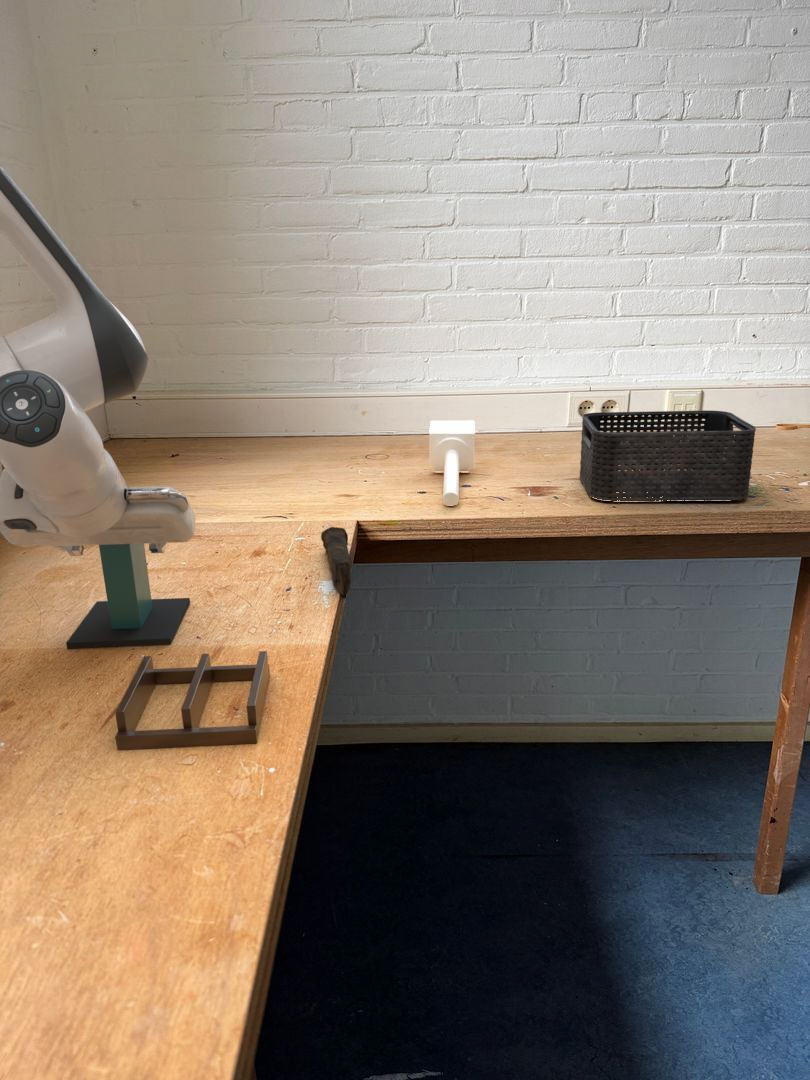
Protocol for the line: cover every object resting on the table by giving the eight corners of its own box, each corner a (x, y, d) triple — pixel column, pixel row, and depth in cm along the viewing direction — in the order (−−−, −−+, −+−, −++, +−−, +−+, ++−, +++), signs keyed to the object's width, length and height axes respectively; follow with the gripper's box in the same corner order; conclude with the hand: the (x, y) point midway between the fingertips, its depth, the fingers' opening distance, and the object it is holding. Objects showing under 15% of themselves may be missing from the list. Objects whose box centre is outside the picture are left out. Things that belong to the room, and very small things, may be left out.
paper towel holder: (474, 420, 169) (477, 477, 141) (473, 459, 173) (476, 522, 145) (430, 420, 170) (424, 477, 141) (430, 459, 174) (425, 521, 145)
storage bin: (591, 503, 144) (596, 430, 140) (576, 476, 163) (579, 410, 158) (753, 504, 143) (763, 430, 138) (719, 476, 161) (727, 409, 156)
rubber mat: (66, 648, 93) (65, 642, 93) (97, 606, 104) (96, 601, 104) (171, 644, 94) (170, 638, 93) (190, 603, 105) (189, 597, 105)
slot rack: (117, 750, 74) (112, 717, 72) (150, 681, 86) (146, 652, 84) (256, 743, 74) (254, 710, 73) (270, 675, 86) (267, 646, 85)
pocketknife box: (111, 629, 96) (98, 543, 92) (124, 609, 102) (113, 527, 98) (141, 628, 96) (129, 542, 92) (152, 608, 102) (142, 526, 98)
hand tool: (322, 550, 123) (320, 522, 122) (348, 549, 124) (346, 520, 122) (323, 600, 105) (321, 567, 104) (354, 598, 106) (352, 566, 104)
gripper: (184, 464, 85) (208, 523, 97) (-13, 469, 84) (36, 528, 96) (180, 517, 82) (205, 570, 95) (-24, 522, 81) (28, 576, 93)
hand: (119, 549), depth 95 cm, fingers open, 8 cm apart
